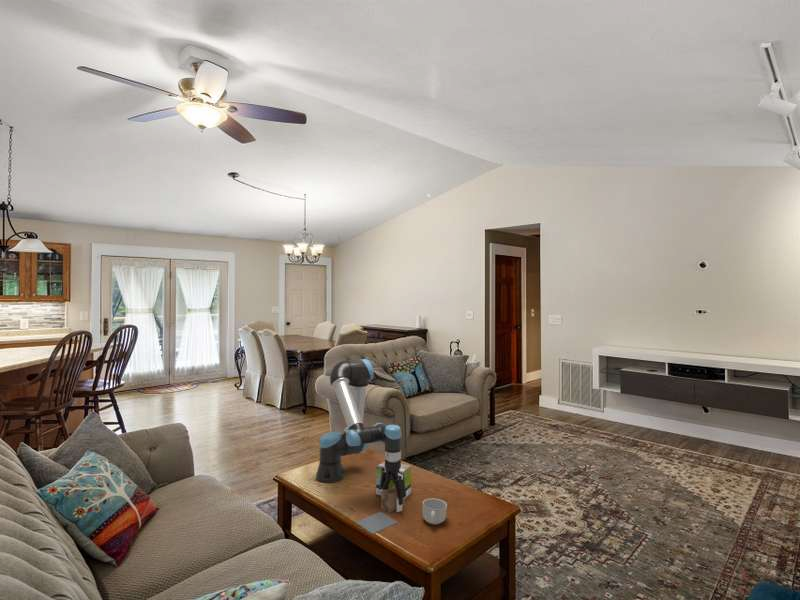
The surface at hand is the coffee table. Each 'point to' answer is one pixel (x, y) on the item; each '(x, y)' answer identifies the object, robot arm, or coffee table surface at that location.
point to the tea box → (404, 471)
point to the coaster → (376, 522)
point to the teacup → (434, 510)
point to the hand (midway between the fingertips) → (392, 507)
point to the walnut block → (389, 500)
